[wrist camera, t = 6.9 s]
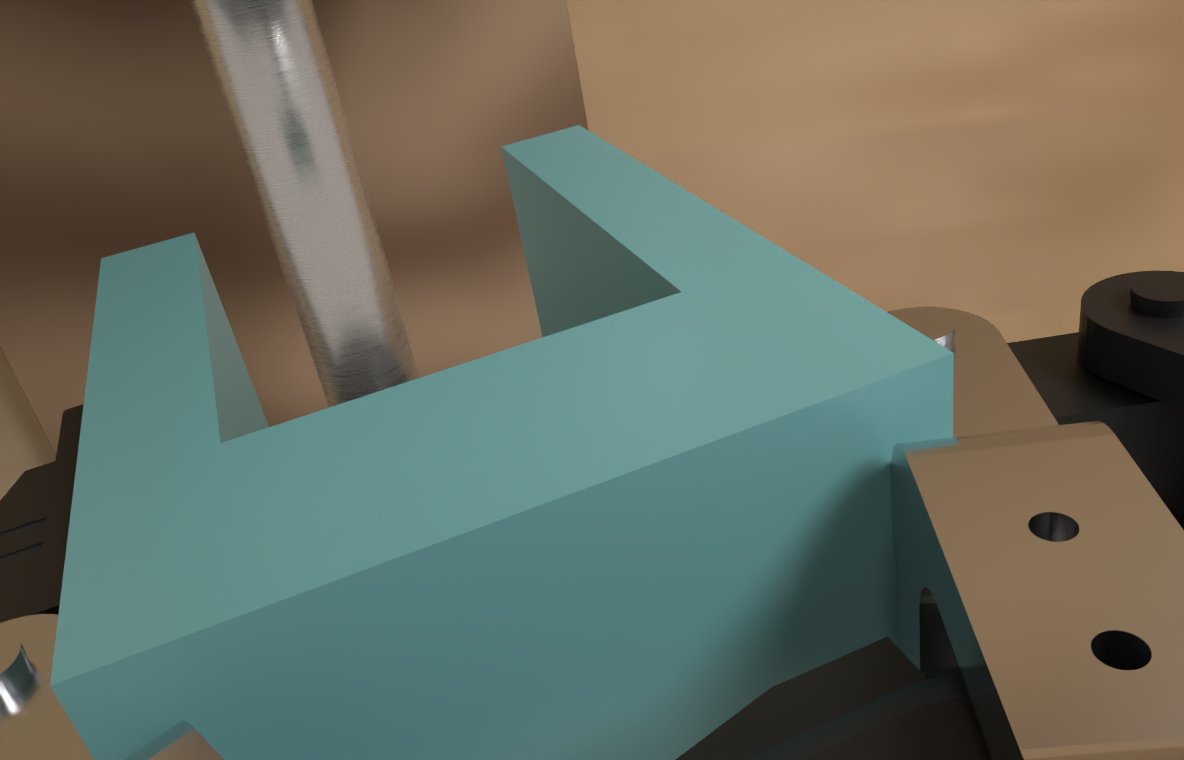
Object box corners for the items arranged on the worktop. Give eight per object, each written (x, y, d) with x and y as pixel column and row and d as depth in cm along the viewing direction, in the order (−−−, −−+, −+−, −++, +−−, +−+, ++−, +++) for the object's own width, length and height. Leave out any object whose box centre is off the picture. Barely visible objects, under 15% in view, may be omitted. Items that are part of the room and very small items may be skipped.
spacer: (100, 258, 11) (48, 686, 5) (579, 124, 13) (952, 353, 7) (226, 545, 13) (288, 1087, 7) (628, 403, 15) (951, 768, 9)
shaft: (36, -221, 18) (8, -242, 14) (293, -265, 19) (330, -295, 15) (311, 510, 25) (339, 621, 22) (482, 450, 26) (536, 546, 23)
